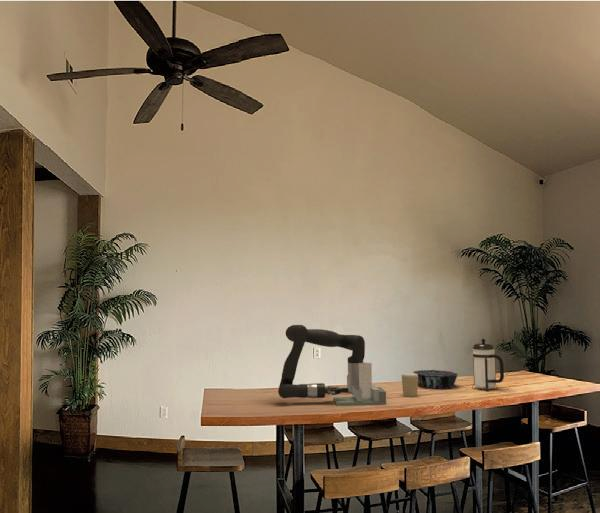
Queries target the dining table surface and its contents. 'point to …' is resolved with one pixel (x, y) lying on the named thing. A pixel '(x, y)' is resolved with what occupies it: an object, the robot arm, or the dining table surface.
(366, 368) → the steel block
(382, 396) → the vise base
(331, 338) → the robot arm
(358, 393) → the sliding jaw
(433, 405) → the dining table surface
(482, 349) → the coffee press
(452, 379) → the decorative bowl
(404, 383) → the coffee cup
